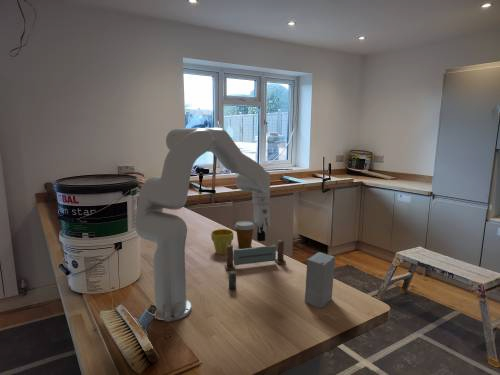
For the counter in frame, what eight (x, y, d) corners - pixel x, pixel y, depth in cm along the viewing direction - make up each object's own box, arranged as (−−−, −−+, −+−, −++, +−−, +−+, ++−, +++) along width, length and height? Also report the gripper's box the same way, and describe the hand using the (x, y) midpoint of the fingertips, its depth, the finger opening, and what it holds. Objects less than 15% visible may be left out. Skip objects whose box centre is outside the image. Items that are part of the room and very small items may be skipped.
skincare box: (315, 293, 115) (317, 250, 112) (334, 299, 110) (336, 255, 108) (303, 303, 108) (304, 258, 106) (322, 310, 104) (324, 263, 101)
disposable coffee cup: (256, 244, 165) (256, 221, 163) (251, 250, 156) (251, 226, 154) (238, 242, 167) (238, 220, 165) (232, 249, 158) (232, 225, 156)
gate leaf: (235, 265, 135) (234, 250, 134) (234, 264, 136) (233, 249, 135) (275, 260, 140) (275, 246, 139) (274, 259, 141) (274, 244, 140)
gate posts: (229, 290, 117) (229, 264, 115) (219, 268, 136) (218, 245, 134) (302, 280, 125) (303, 255, 123) (282, 260, 144) (283, 239, 142)
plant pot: (219, 257, 147) (219, 237, 146) (207, 251, 155) (207, 231, 153) (237, 252, 154) (237, 232, 152) (225, 246, 162) (225, 227, 160)
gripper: (275, 203, 133) (275, 245, 137) (263, 195, 148) (263, 234, 151) (257, 204, 131) (258, 247, 135) (247, 196, 146) (248, 236, 149)
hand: (261, 240), depth 143 cm, fingers closed
